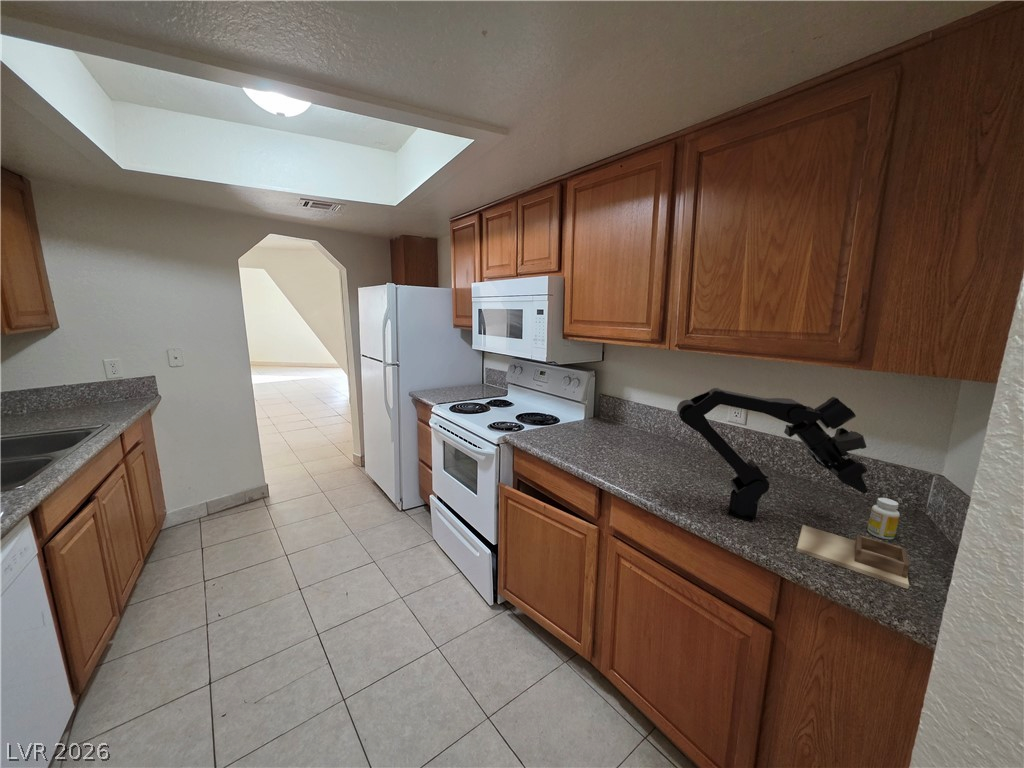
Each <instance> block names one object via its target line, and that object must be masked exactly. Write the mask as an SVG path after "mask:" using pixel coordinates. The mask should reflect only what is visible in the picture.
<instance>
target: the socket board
mask: <svg viewBox="0 0 1024 768" xmlns="http://www.w3.org/2000/svg"><path fill="white" fill-rule="evenodd" d="M796 546H797V547H796V550H795V551H796V552H798V553H800V554H804V555H806V556H810V557H813V558H815V559H817V560H821V561H823V562H827V563H830V564H834V565H836V566H839V567H840V568H841V567H842V568H845V569H848V570H850V571H853V572H857V573H860V574H863V575H865V576H868V577H870V578H874V579H877V580H880V581H883V582H886V583H888V584H892V585H894V586H897V587H901V588H904V589H907V590H909V587H910V583H909V577H908V573H909V569H910V562H909V557H908V552H907V548H906V547H902V546H899V545H895V544H892V543H889V542H885V541H882V540H878V539H874V538H871V537H869V536H864V535H861V534H856V538H855V539H851V538H847V537H845V536H841V535H839V534H838V535H837V534H835V533H831V532H828V531H824V530H821V529H817V528H814V527H811V526H807V525H804V524H802V527H801V530H800V534H799V538H798V542H797V545H796Z"/></svg>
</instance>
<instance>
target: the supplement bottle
mask: <svg viewBox="0 0 1024 768" xmlns="http://www.w3.org/2000/svg"><path fill="white" fill-rule="evenodd" d="M898 509H899V503H898V502H897V501H896V500H893V499H890V498H887V497H878V498H877V500H876V504H874V505H873V506H872V507H871V509H870V510H871V511H870V515H869V519H868V525H867V532H868V533H869V534H870V535H872V536H874V537H876V538H880V539H884V540H894V539H895V536H896V533H897V528H898V524H899V520H900V516H901V515H900V512H899V511H898Z"/></svg>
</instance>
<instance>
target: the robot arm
mask: <svg viewBox="0 0 1024 768" xmlns="http://www.w3.org/2000/svg"><path fill="white" fill-rule="evenodd" d="M720 405H722V406H723V405H724V406H727V407H732V408H735V409H736V408H737V409H741V410H745V411H751V412H756V413H761V414H765V415H767V416H770V417H772V418H774V419H777V420H778V421H783V422H785V423H787V424H785V429H784V432H783V433H784V434H785V435H786V436H788V437H789V438H792V437H793V436H795V435H796V436H797V437H798V438H799V440H800V441H802V443H803V444H804V447H805V449H807V455H808V456H809V457H810V458H811V459H812V460H814V462H816V463H817V464H818V465H819V466H822V467H823V468H824V469H827V470H829V471H830V473H831V474H832V475H833V476H834V477H835V478H836V479H837V480H838V481H839V482H840V483H842V484H844V485H846V486H848V487H850V488H852V489H855V490H857V491H858V492H860V493H862V494H867V493H869V490H868V487H867V485H866V484H865V480H864V478H863V475H864V474H865V473H866V472H868V468H867V467H866V465H864V463H862V462H861V461H859V460H858V459H857V458H854V457H848V458H844V457H846V456H848V455H849V454H850V453H849V452H851V451H855V450H859V449H861V450H863V449H866V448H867V447H868V446H867V444H866V441H865V438H864V435H863V434H861V433H860V432H857V431H853V430H847V429H846V428H844V427H841V426H842V425H844V424H847V422H849V421H851V420H853V419H854V418H856V417H857V415H856V414H855V412H854V411H853V410H852V409H851V408H850V407H848V406H847V405H846V404H844V403H843V402H842V401H841V400H840V399H839V398H838V397H835V396H831V397H830V398H828V399H827V400H826V401H825V402H823V403H821V404H820V405H818V406H817V407H815V408H813V407H812V406H809V405H808V406H807V405H803V403H800V402H798V401H796V400H795V399H793V398H786V397H785V398H784V397H780V398H779V397H774V398H773V397H772V398H770V397H769V398H767V397H766V398H765V397H760V396H754V395H749V394H744V393H739V392H734V391H729V390H724V389H721V388H719V387H713V388H711V389H710V390H708V391H706V392H704V393H702V394H698V395H696V396H694V397H692V398H691V399H683V400H681V401H679V403H678V404H677V407H676V411H677V414H678V417H679V418H680V420H681V421H682V422H683V423H684V424H685V425H687V426H688V427H690V428H691V429H692V430H693V431H696V432H697V433H699V434H700V435H701V436H702V437H703V438H704V439H705V441H706V442H708V443H709V445H710V446H711V447H712V448H713V449H714V450H715V451H716V452H717V453H718V454H719V455H720V456H721V458H723V460H724V461H726V463H727V464H728V465H730V467H731V468H732V469H733V470H734V472H735V473H736V475H737V476H735V477H734V478H732V479H730V484H731V485H730V486H731V488H732V490H731V492H730V499H729V506H728V509H727V511H726V514H727V515H729V516H732V517H735V518H739V519H742V520H745V521H748V522H754V519H756V518H757V516H758V515H759V514H758V513H759V507H760V499H761V497H762V496H763V495H764V494H766V493H767V492H768V491H769V489H770V481H768V479H769V476H768V475H767V474H766V473H765V471H764V470H763V469H762V468H761V467H760V466H758V464H757V463H756V462H755V461H754V460H753V459H752V458H750V459H749V460H748V461H747V460H746V459H744V458H743V457H742V456H741V455H740V454H739V453H738V452H737V451H736V450H735V448H733V447H732V445H730V444H729V443H728V442H727V440H726V439H725V438H724V437H723V436H722V435H721V434H720V433H719V432H718V431H717V430H716V429H715V428H714V427H713V426H712V424H710V422H709V421H708V419H707V417H706V416H705V415H707V414H708V413H710V412H711V411H712V410H714V409H715V408H716V407H718V406H720ZM822 426H823V427H824V428H825V429H829V428H830V429H831V430H835V429H836V430H835V434H834V435H833V436H831V435H830V434H828V433H827V432H826V431H825V429H823V428H822Z"/></svg>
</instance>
